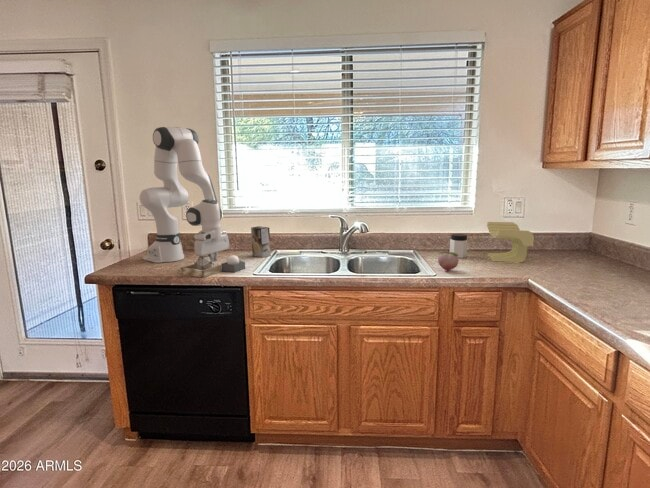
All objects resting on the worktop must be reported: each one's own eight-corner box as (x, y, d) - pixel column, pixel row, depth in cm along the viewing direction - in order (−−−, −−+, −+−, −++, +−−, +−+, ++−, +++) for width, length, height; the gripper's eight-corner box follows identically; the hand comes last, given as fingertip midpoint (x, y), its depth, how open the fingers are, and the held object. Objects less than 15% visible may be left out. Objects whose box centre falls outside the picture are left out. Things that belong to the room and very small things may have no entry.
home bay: (181, 274, 180) (181, 267, 180) (200, 268, 191) (199, 262, 190) (203, 277, 174) (203, 271, 174) (221, 271, 185) (221, 265, 184)
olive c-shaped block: (531, 267, 187) (534, 230, 184) (495, 265, 191) (498, 229, 187) (515, 254, 216) (518, 222, 213) (485, 252, 219) (487, 221, 216)
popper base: (221, 270, 186) (221, 263, 185) (232, 266, 193) (232, 260, 192) (234, 272, 183) (234, 265, 182) (245, 268, 190) (244, 261, 189)
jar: (469, 257, 208) (470, 235, 206) (455, 258, 206) (456, 236, 204) (460, 254, 216) (461, 233, 214) (446, 255, 215) (448, 233, 212)
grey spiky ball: (206, 280, 184) (201, 266, 176) (193, 272, 187) (188, 258, 179) (219, 267, 189) (215, 254, 181) (206, 260, 192) (202, 246, 184)
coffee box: (271, 255, 218) (270, 227, 215) (262, 257, 213) (261, 228, 210) (260, 253, 224) (259, 225, 220) (251, 255, 219) (250, 227, 216)
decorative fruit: (459, 269, 184) (460, 248, 182) (457, 273, 177) (458, 252, 175) (438, 267, 188) (439, 247, 186) (436, 271, 181) (437, 250, 179)
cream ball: (224, 270, 186) (223, 256, 185) (232, 267, 192) (231, 253, 190) (234, 271, 184) (233, 257, 183) (242, 268, 189) (241, 254, 188)
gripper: (221, 230, 197) (223, 256, 200) (191, 236, 180) (193, 265, 182) (231, 230, 194) (233, 257, 197) (201, 237, 177) (203, 266, 179)
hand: (213, 261), depth 189 cm, fingers closed
